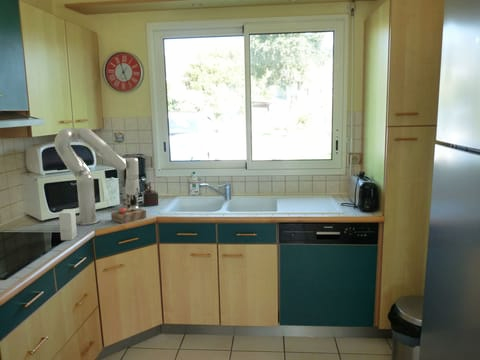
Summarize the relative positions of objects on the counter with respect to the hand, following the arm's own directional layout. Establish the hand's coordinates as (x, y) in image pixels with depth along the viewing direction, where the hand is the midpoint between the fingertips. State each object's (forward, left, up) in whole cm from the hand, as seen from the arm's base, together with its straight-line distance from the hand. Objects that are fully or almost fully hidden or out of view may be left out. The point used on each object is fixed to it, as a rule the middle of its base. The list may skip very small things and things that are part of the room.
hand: (133, 205), depth 260 cm
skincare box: (-47, -9, -9) cm, 48 cm away
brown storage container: (+27, +21, -9) cm, 35 cm away
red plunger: (-8, 0, -6) cm, 10 cm away
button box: (-4, 0, -9) cm, 9 cm away
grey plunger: (+1, 0, -6) cm, 6 cm away
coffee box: (+13, +25, -9) cm, 29 cm away
